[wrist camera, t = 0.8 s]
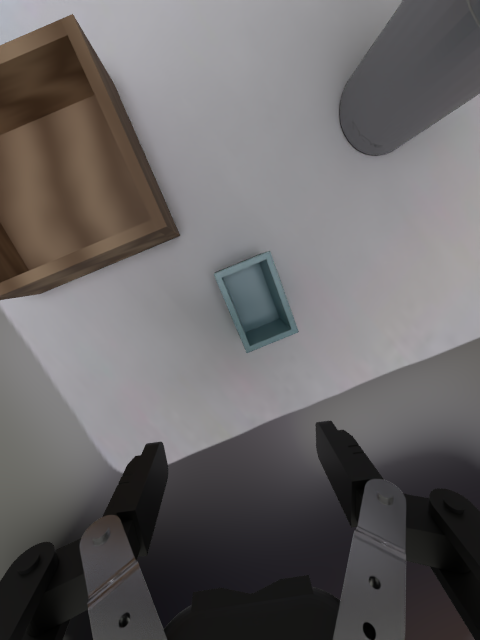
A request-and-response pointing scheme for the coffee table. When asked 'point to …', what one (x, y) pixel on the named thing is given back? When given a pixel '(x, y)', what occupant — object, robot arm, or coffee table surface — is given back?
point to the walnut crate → (68, 166)
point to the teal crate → (256, 301)
